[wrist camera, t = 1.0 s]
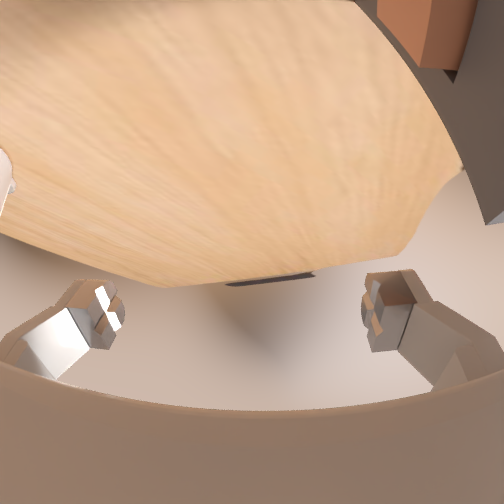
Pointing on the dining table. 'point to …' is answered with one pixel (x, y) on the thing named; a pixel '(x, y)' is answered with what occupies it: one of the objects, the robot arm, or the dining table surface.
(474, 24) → the panel
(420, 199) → the dining table surface
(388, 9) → the button terracotta
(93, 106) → the dining table surface
